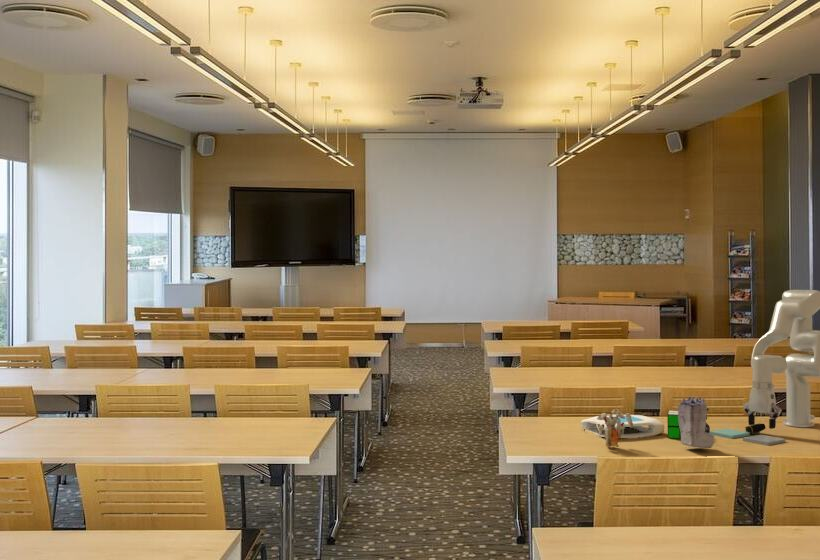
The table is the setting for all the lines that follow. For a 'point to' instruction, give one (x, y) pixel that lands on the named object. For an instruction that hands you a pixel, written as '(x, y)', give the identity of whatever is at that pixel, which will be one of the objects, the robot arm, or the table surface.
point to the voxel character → (613, 427)
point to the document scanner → (638, 424)
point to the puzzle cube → (673, 425)
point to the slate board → (764, 439)
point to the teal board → (729, 433)
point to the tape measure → (755, 428)
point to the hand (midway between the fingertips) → (761, 426)
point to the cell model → (694, 423)
